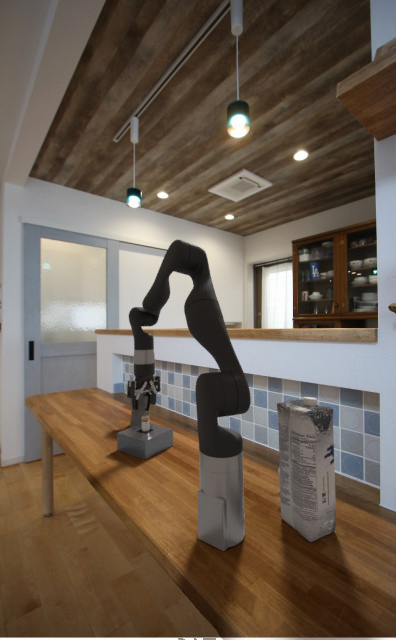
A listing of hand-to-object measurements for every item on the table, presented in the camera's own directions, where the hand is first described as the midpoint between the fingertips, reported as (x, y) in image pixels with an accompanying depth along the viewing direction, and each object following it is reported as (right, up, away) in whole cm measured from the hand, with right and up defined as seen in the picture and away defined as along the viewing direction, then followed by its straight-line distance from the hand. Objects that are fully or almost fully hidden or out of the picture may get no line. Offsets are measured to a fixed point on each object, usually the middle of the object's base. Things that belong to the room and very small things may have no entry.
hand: (144, 407), depth 105 cm
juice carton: (+43, -13, -43) cm, 62 cm away
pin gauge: (0, -13, 0) cm, 13 cm away
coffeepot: (-6, -15, +24) cm, 29 cm away
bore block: (0, -14, 0) cm, 14 cm away
